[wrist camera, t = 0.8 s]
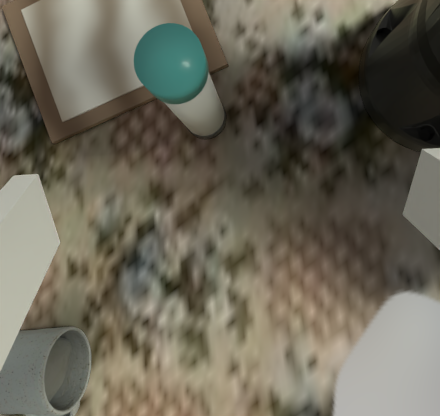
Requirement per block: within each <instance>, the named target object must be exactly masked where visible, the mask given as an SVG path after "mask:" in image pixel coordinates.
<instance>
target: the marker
mask: <svg viewBox="0 0 440 416" xmlns="http://www.w3.org/2000/svg"><path fill="white" fill-rule="evenodd" d="M134 69H135V72H136V75H137V77H138V79H139V80H140V82H141V83H142V84H143V85H144V86H145V87H146V88H147V89H148V90H149V91H150V92H151V93H152V95H153V96H155V97H156V98H157V99H158V100H160V101H162V102H164V103H165V104H166V105H167V106H168V107H169V108H170V110H171V111H172V112H173V113H174V114H175V115H176V116H177V117H178V118H179V119H180V120H181V121H182V123H183V124H184V125H185V126H186V127H187V129H188V130H189V131H190V132H191V133H192V134H193V135H194V136H196V137H198V138H201V139H210V138H213V137H215V136H217V135H218V134H220V133H221V131H222V130H223V129H224V127H225V124H226V113H225V110H224V107H223V105H222V104H221V101H220V99H219V96H218V94H217V91H216V89H215V86H214V84H213V81H212V79H211V76H210V74H209V67H208V61H207V58H206V56H205V53H204V50H203V48H202V45H201V43H200V41H199V39H198V37H197V36H196V35H195V34H194V32H193V31H191V30H190V29H189V28H187V27H185V26H183V25H180V24H176V23H165V24H161V25H158V26H155V27H153V28H152V29H150V30H149V31H147V32H146V33H145V34H144V35H143V37H142V38H141V39H140V41H139V42H138V44H137V46H136V49H135V53H134Z"/></svg>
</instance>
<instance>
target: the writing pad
mask: <svg viewBox="0 0 440 416" xmlns="http://www.w3.org/2000/svg"><path fill="white" fill-rule="evenodd" d="M2 9H3V11H4V14H5V17H6V20H7V22H8V25H9V28H10V30H11V33H12V36H13V39H14V41H15V44H16V47H17V50H18V52H19V55H20V58H21V60H22V63H23V66H24V69H25V71H26V74H27V77H28V80H29V82H30V85H31V88H32V90H33V93H34V96H35V99H36V101H37V104H38V107H39V110H40V112H41V115H42V118H43V120H44V123H45V126H46V129H47V131H48V134H49V137H50V140H51V142H52V143H53V144H56V143H59V142H61V141H63V140H65V139H68V138H70V137H72V136H74V135H77V134H79V133H81V132H83V131H85V130H88V129H90V128H92V127H94V126H97V125H99V124H101V123H103V122H106V121H108V120H110V119H112V118H114V117H117V116H119V115H121V114H123V113H126V112H128V111H130V110H132V109H135V108H137V107H139V106H141V105H143V104H146V103H148V102H150V101H152V100H155V99H157V98H156V97H155V96H153V95H152V93H151V92H150V91H149V90H148V89H147V88H146V87H145V86H144V85H143V84H142V83H141V82H140V80H139V79H138V77H137V75H136V72H135V69H134V53H135V49H136V46H137V44H138V42H139V41H140V39H141V38H142V37H143V35H144V34H145V33H146V32H147V31H149V30H150V29H152V28H153V27H155V26H158V25H161V24H165V23H176V24H180V25H183V26H185V27H187V28H189V29H190V30H191V31H193V32H194V34H195V35H196V36H197V37H198V39H199V41H200V43H201V45H202V48H203V50H204V53H205V56H206V58H207V61H208V67H209V74H213V73H215V72H217V71H219V70H222V69H224V68H226V67H228V64H227V61H226V59H225V56H224V54H223V51H222V49H221V46H220V44H219V41H218V39H217V36H216V34H215V31H214V29H213V26H212V24H211V21H210V19H209V17H208V14H207V12H206V9H205V7H204V4H203V2H202V0H14V1H12V2H10V3H8V4H6V5H4V6H2Z"/></svg>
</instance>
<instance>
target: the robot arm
mask: <svg viewBox="0 0 440 416" xmlns="http://www.w3.org/2000/svg"><path fill="white" fill-rule="evenodd" d="M359 87H360V93H361V97H362V100H363V103H364V106H365V108H366V110H367V112H368V114H369V115H370V117H371V118H372V120H373V121H374V123H375V124H376V125H377V126H378V127H379V128H380V130H381V131H383V132H384V133H385V134H386V135H387V136H388V137H390V138H391V139H392V140H394V141H395V142H397V143H399V144H401V145H403V146H405V147H407V148H410V149H412V150H415V151H419V152H421V154H420V157H419V161H418V164H417V167H416V171H415V174H414V177H413V181H412V184H411V188H410V191H409V194H408V198H407V201H406V205H405V208H404V211H403V216H404V217H405V218H406V219H407V220H408V221H410V222H411V223H412V224H413V225H414V226H415V227H416V228H417V229H418V230H419V231H420V232H421V233H422V234H423V235H424V236H425V237H426V238H427V239H428V240H429V241H430V242H431V243H433V244H434V245H435V246H436V247H437V248H438V249H439V250H440V0H398V1H397V2H396V3H395V4H394V5H393V6H392V7H391V8H390V9H389V10H388V11H387V12H386V13H385V15H384V16H383V17H382V18H381V20H380V21H379V22H378V24H377V26H376V27H375V29H374V31H373V32H372V34H371V36H370V37H369V39H368V41H367V43H366V45H365V47H364V50H363V53H362V56H361V60H360V66H359ZM59 244H60V240H59V237H58V234H57V231H56V228H55V224H54V221H53V218H52V215H51V212H50V209H49V206H48V203H47V200H46V196H45V193H44V190H43V187H42V184H41V181H40V178H39V175H38V174H30V175H14V176H13V177H12V178H11V179H10V180H9V181H8V182H7V183H6V185H5V186H4V187H3V188H2V189H1V190H0V371H1V369H2V367H3V365H4V363H5V360H6V358H7V356H8V354H9V352H10V350H11V348H12V345H13V343H14V341H15V339H16V337H17V335H18V332H19V330H20V328H21V326H22V324H23V322H24V320H25V317H26V315H27V313H28V311H29V309H30V307H31V304H32V302H33V300H34V298H35V296H36V294H37V292H38V289H39V287H40V285H41V283H42V281H43V279H44V276H45V274H46V272H47V270H48V268H49V266H50V264H51V261H52V259H53V257H54V255H55V253H56V251H57V248H58V246H59Z"/></svg>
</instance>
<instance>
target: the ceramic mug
mask: <svg viewBox="0 0 440 416" xmlns="http://www.w3.org/2000/svg"><path fill="white" fill-rule="evenodd" d="M90 372H91V349H90V344H89V341H88V338H87V336H86V335H85V333H84V332H83V331H82V330H81V329H79V328H77V327H74V326H70V327H59V328H46V329H37V330H22V331H19V332H18V335H17V337H16V339H15V341H14V343H13V345H12V348H11V350H10V352H9V354H8V356H7V358H6V360H5V363H4V365H3V367H2V369H1V371H0V414H25V415H26V416H75V414H76V413H77V411H78V409H79V406H80V400H81V398H82V397H83V395H84V392H85V390H86V387H87V384H88V381H89V376H90Z"/></svg>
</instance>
